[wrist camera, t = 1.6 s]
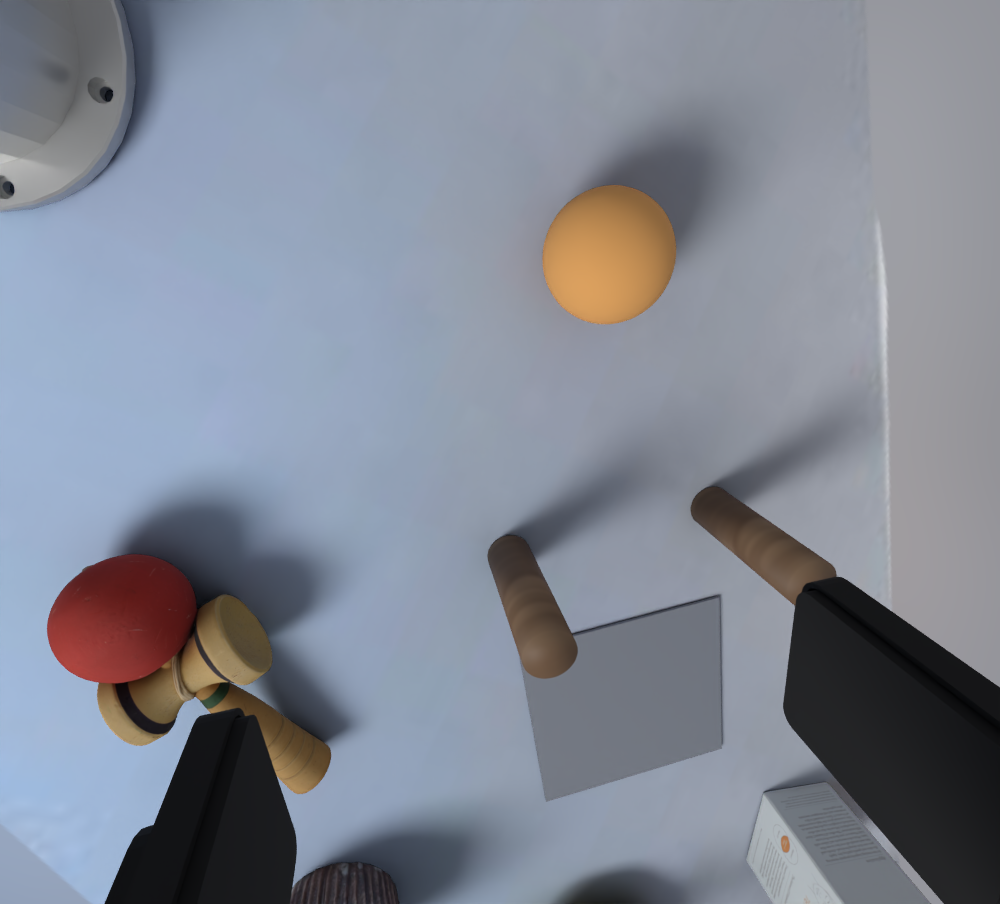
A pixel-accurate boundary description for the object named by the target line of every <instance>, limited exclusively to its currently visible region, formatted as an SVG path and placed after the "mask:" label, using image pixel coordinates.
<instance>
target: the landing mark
mask: <svg viewBox="0 0 1000 904" xmlns="http://www.w3.org/2000/svg"><path fill="white" fill-rule="evenodd" d="M572 635H573V637H574V639H575V641H576V643H577V647H578V654H577V657H576V660H575V662H574V663H573V665H572V666H571V667H570V668H569V669H568V670H567V671H566V672H564V673H563V674H561V675H559V676H557V677H554V678H548V679H541V678H536V677H533V676H532V675H530V674H529V673H528V672H527V671H526V670H525V669H524V667H523V664H522V661H521V666H522V671H523V677H524V683H525V688H526V694H527V699H528V705H529V710H530V716H531V721H532V727H533V732H534V738H535V743H536V749H537V754H538V760H539V765H540V771H541V776H542V782H543V787H544V793H545V798H546V802H547V801H550V800H554V799H557V798H560V797H564V796H567V795H570V794H573V793H577V792H580V791H583V790H587V789H590V788H593V787H596V786H600V785H603V784H606V783H610V782H613V781H616V780H620V779H623V778H626V777H629V776H633V775H636V774H639V773H643V772H646V771H649V770H652V769H656V768H659V767H662V766H666V765H669V764H672V763H675V762H679V761H682V760H685V759H689V758H692V757H695V756H698V755H702V754H705V753H708V752H712V751H715V750H718V749H722V735H721V667H720V598H719V596H715V597H711V598H708V599H704V600H700V601H696V602H693V603H689V604H685V605H681V606H678V607H674V608H670V609H666V610H663V611H659V612H655V613H651V614H648V615H644V616H640V617H636V618H632V619H629V620H625V621H621V622H617V623H614V624H610V625H606V626H602V627H599V628H595V629H591V630H587V631H584V632H580V633H576V634H572ZM520 660H521V658H520Z"/></svg>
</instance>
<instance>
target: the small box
mask: <svg viewBox="0 0 1000 904" xmlns="http://www.w3.org/2000/svg"><path fill="white" fill-rule="evenodd" d="M746 860H747V862H748V864H749V865H750V867H751V868H752V870H753V872H754V873H755V875H756V877H757V878H758V880H759V882H760V883H761V885H762V887H763V888H764V890H765V892H766V893H767V895H768V896H769V898H770V900H771V901H772V903H773V904H931V903H930V902H929V901H928V900H927V899H926V897H925V896H924V895H923V894H922V893H921V891H920V890H919V889H918V888H917V887H916V886H915V884H914V883H913V882H912V881H911V880H910V879H909V877H908V876H907V875H906V874H905V873H904V871H903V870H902V869H901V868H900V867H899V866H898V864H897V863H896V862H895V861H894V860H893V859H892V857H891V856H890V855H889V854H888V853H887V852H886V850H885V849H884V848H883V847H882V846H881V844H880V843H879V842H878V841H877V840H876V839H875V837H874V836H873V835H872V834H871V833H870V831H869V830H868V829H867V828H866V827H865V826H864V824H863V823H862V822H861V821H860V820H859V819H858V817H857V816H856V815H855V814H854V813H853V812H852V810H851V809H850V808H849V807H848V806H847V804H846V803H845V802H844V801H843V800H842V799H841V797H840V796H839V795H838V794H837V793H836V792H835V790H834V789H833V788H832V787H831V786H830V785H829V784H828V783H826V782H822V783H816V784H810V785H804V786H798V787H792V788H785V789H779V790H774V791H768V792H764V794H763V797H762V801H761V805H760V809H759V813H758V817H757V821H756V825H755V828H754V832H753V836H752V840H751V844H750V848H749V851H748V855H747V858H746Z"/></svg>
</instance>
